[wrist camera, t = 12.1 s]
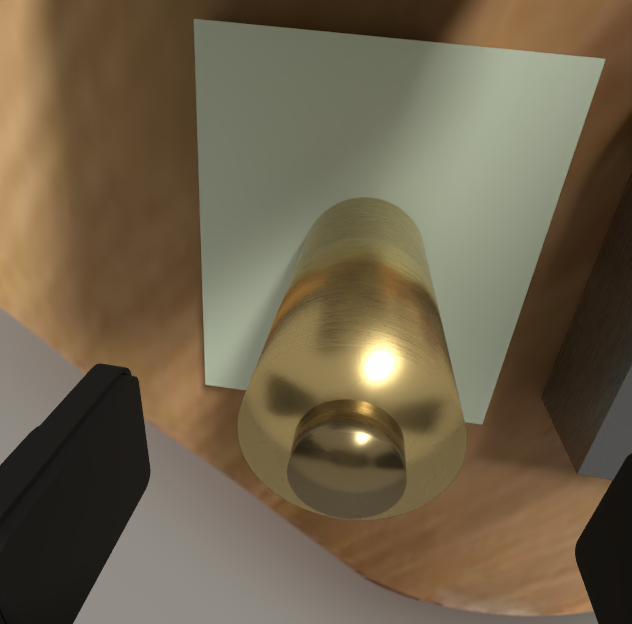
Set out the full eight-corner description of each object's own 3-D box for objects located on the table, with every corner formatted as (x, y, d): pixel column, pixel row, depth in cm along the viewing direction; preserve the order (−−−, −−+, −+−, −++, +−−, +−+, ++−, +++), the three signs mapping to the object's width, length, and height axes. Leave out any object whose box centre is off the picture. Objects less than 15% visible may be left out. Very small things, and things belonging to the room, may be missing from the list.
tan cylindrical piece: (309, 190, 19) (223, 358, 9) (435, 205, 19) (507, 398, 8) (300, 300, 21) (224, 538, 11) (412, 315, 21) (444, 574, 11)
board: (207, 21, 18) (193, 18, 17) (588, 58, 17) (605, 59, 16) (214, 367, 26) (205, 384, 24) (476, 405, 25) (482, 424, 24)
